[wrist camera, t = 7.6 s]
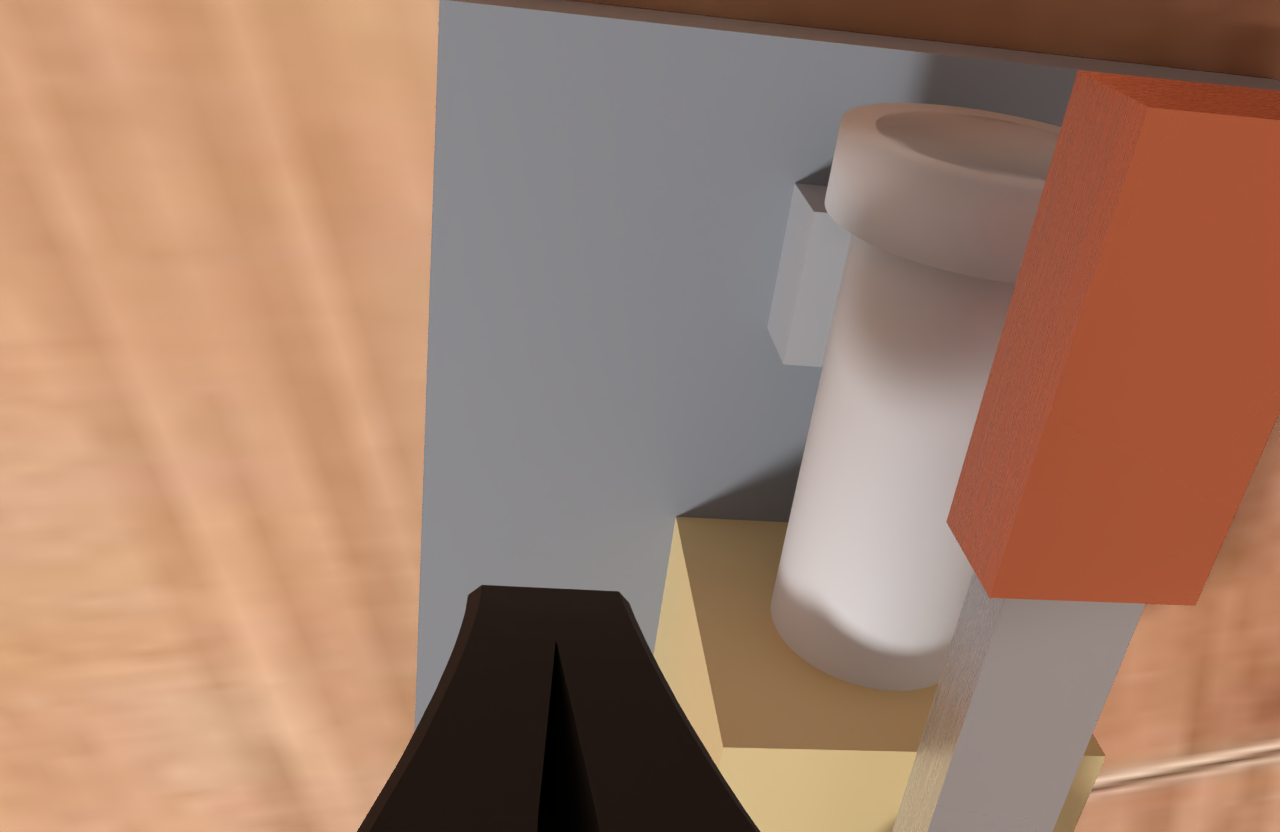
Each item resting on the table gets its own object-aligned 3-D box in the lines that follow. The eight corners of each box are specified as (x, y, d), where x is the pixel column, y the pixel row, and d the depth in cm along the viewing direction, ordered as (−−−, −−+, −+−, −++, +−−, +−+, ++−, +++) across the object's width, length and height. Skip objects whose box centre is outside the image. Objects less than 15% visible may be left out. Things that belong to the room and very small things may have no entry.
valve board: (941, 961, 26) (1063, 1307, 20) (409, 962, 24) (373, 1339, 19) (1276, 79, 17) (1691, 244, 11) (444, -14, 15) (392, 120, 9)
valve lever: (957, 1005, 15) (989, 1096, 14) (797, 1007, 15) (818, 1100, 14) (1315, 94, 9) (1413, 134, 8) (1066, 69, 9) (1136, 106, 8)
